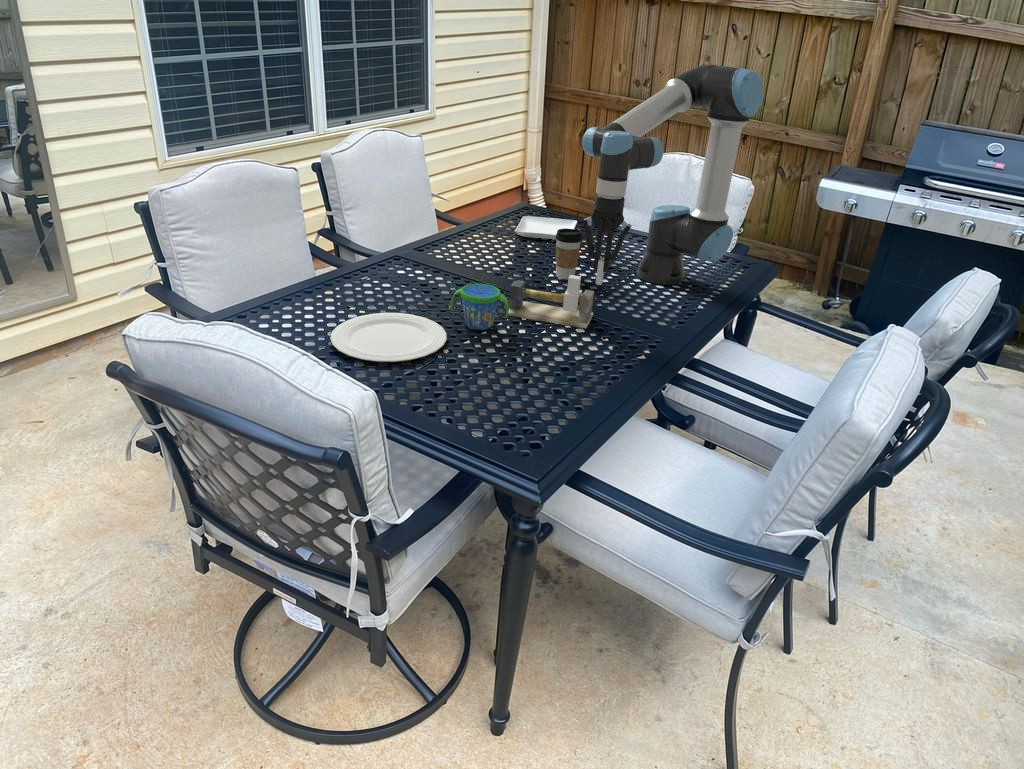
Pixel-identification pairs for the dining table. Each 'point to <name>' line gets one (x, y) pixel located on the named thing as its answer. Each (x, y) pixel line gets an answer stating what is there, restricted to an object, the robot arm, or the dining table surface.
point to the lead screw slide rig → (549, 307)
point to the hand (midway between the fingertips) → (599, 282)
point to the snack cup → (479, 305)
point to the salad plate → (543, 227)
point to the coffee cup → (567, 252)
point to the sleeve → (572, 294)
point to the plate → (388, 337)
